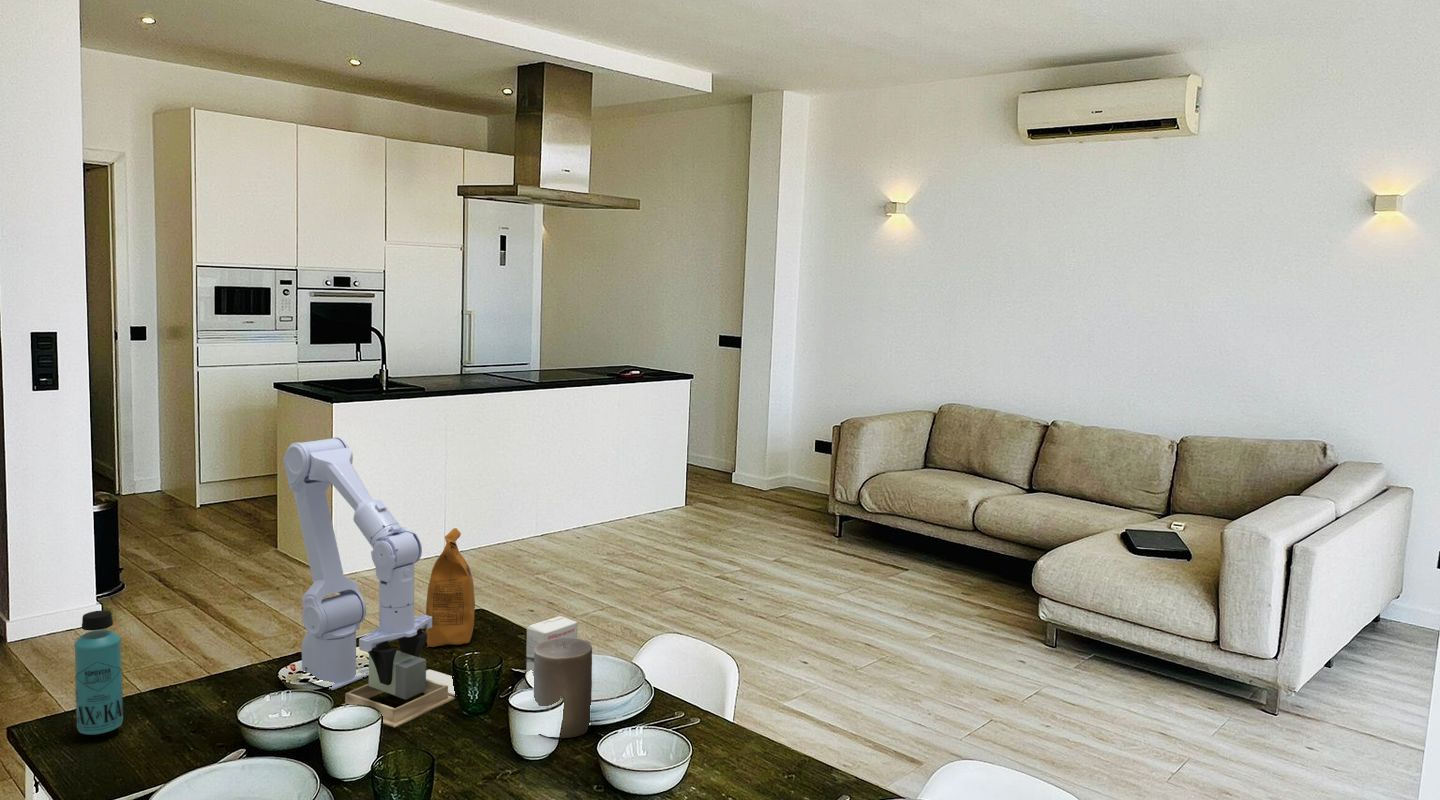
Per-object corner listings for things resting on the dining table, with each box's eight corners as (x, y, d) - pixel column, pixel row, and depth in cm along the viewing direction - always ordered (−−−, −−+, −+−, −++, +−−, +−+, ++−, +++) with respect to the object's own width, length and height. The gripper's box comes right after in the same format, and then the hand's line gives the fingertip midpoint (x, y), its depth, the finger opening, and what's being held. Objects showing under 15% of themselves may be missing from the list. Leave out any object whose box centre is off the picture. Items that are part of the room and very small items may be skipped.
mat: (406, 680, 183) (406, 679, 183) (429, 670, 188) (429, 669, 188) (454, 696, 177) (454, 694, 177) (477, 685, 182) (477, 683, 182)
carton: (338, 707, 171) (338, 693, 171) (399, 681, 183) (399, 668, 182) (394, 727, 164) (394, 713, 164) (454, 698, 176) (454, 685, 176)
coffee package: (479, 627, 212) (480, 526, 209) (472, 649, 200) (472, 541, 197) (431, 627, 211) (431, 525, 208) (420, 649, 198) (420, 541, 196)
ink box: (543, 696, 179) (544, 633, 177) (524, 688, 181) (525, 626, 180) (578, 682, 185) (579, 620, 184) (559, 675, 188) (560, 614, 187)
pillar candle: (603, 727, 167) (604, 640, 166) (555, 745, 160) (556, 654, 159) (568, 709, 174) (569, 625, 172) (520, 725, 167) (521, 638, 165)
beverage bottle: (71, 734, 158) (65, 612, 156) (118, 721, 163) (113, 603, 161) (83, 748, 154) (77, 623, 151) (131, 735, 159) (126, 613, 156)
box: (368, 686, 173) (368, 655, 173) (389, 677, 177) (389, 647, 177) (405, 699, 169) (405, 668, 168) (425, 690, 173) (426, 659, 172)
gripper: (379, 619, 163) (380, 698, 165) (444, 596, 176) (444, 670, 177) (350, 610, 167) (350, 688, 168) (416, 588, 179) (415, 661, 181)
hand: (396, 678), depth 173 cm, fingers closed on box, 4 cm apart
